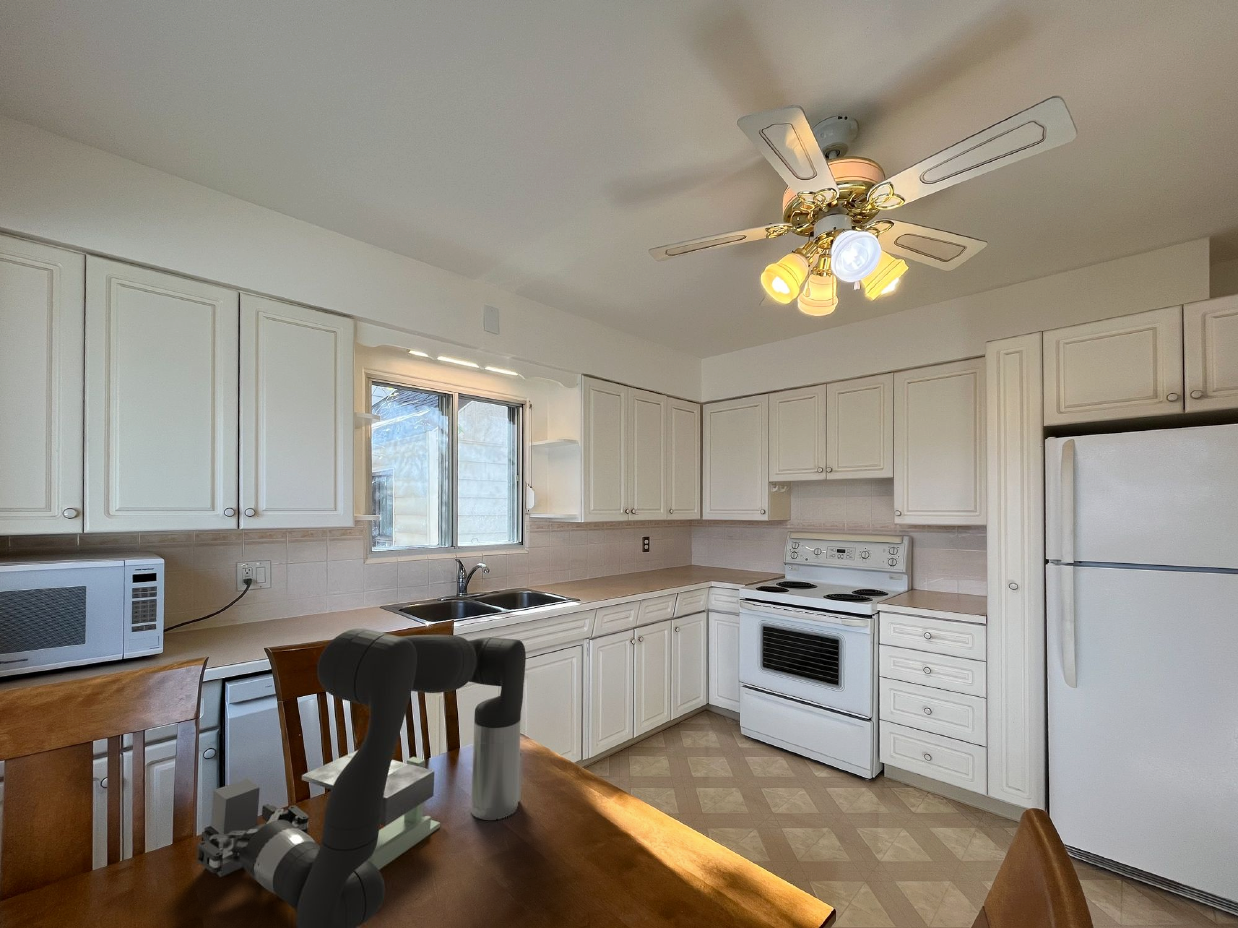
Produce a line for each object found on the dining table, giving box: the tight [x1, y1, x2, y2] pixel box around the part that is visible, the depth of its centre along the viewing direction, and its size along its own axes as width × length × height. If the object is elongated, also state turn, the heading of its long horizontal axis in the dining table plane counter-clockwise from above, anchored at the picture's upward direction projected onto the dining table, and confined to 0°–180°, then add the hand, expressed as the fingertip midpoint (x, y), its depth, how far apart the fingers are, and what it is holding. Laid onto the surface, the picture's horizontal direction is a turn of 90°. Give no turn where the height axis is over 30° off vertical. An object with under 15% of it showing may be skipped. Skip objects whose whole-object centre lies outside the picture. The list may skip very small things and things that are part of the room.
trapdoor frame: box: [368, 756, 441, 871], centre depth 100 cm, size 18×8×12 cm, turn 155°
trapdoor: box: [301, 749, 435, 827], centre depth 103 cm, size 12×20×4 cm, turn 65°
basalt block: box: [210, 778, 261, 878], centre depth 95 cm, size 5×5×12 cm
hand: (236, 821), depth 94 cm, fingers open, 8 cm apart
